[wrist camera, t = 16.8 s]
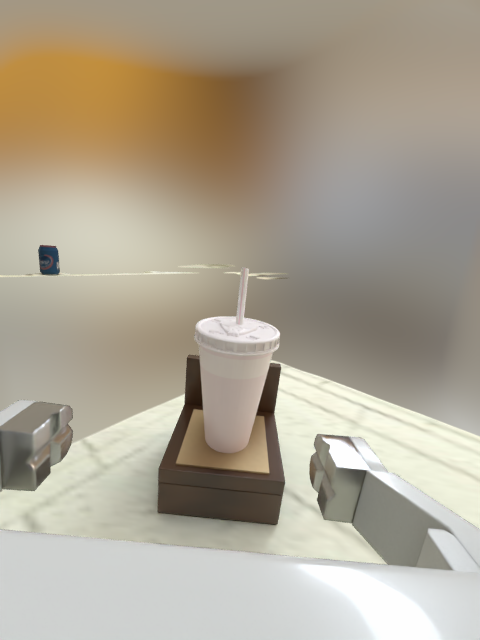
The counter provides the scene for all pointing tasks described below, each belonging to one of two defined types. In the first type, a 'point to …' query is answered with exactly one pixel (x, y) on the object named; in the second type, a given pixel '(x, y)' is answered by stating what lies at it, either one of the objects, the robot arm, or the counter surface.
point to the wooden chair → (223, 462)
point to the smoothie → (233, 373)
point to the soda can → (48, 260)
